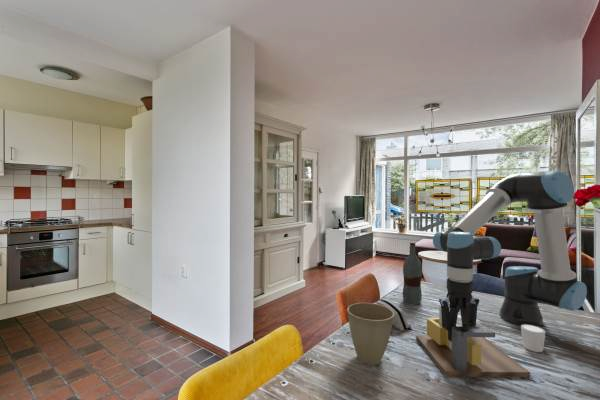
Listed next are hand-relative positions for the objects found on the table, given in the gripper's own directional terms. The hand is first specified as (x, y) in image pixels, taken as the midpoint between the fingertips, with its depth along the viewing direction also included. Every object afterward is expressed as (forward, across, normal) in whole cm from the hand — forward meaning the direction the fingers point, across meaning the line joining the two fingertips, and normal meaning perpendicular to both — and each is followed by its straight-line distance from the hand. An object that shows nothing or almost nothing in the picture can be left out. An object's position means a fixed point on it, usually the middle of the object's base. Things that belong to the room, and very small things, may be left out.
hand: (458, 349), depth 95 cm
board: (+3, -4, -1) cm, 5 cm away
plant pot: (+3, +29, -5) cm, 30 cm away
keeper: (+3, +1, +8) cm, 8 cm away
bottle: (+3, -14, -50) cm, 52 cm away
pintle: (+3, 0, -8) cm, 8 cm away
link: (0, 0, -2) cm, 2 cm away
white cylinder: (+3, -31, -2) cm, 32 cm away
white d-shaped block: (+3, +8, -30) cm, 31 cm away
